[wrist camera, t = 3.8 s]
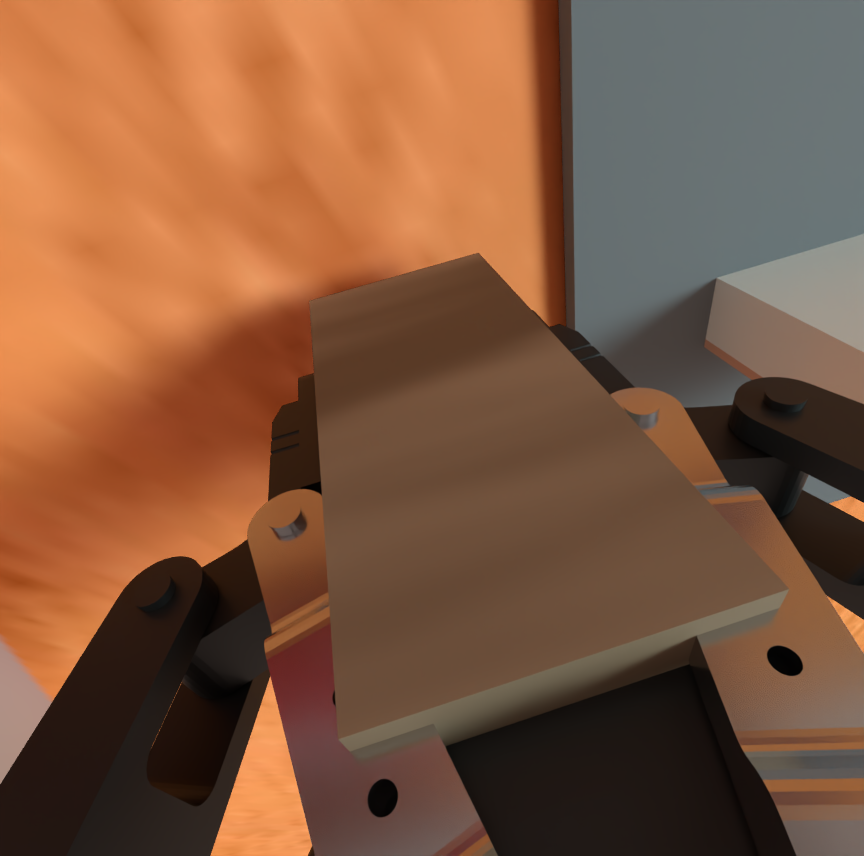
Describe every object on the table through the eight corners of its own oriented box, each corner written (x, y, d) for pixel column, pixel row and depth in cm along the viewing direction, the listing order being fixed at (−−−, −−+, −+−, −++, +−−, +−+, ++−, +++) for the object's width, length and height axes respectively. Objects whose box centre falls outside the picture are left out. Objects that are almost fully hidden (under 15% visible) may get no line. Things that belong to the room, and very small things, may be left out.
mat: (557, -38, 10) (570, -43, 9) (1322, -234, 11) (1369, -248, 10) (572, 575, 24) (578, 585, 23) (905, 466, 24) (917, 474, 24)
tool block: (309, 301, 11) (338, 738, 4) (478, 252, 11) (788, 589, 4) (360, 432, 13) (432, 839, 6) (496, 391, 14) (708, 743, 7)
